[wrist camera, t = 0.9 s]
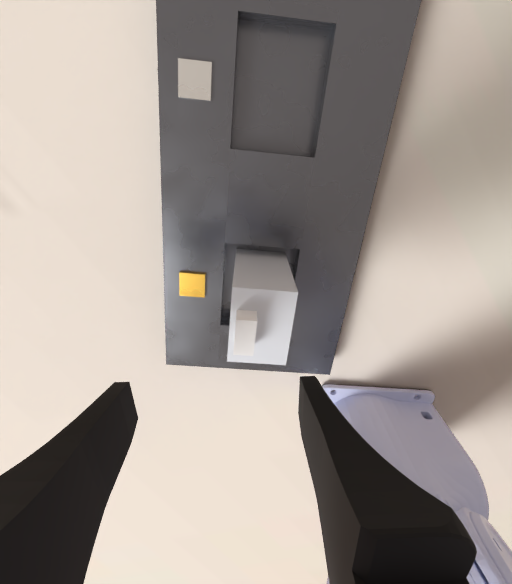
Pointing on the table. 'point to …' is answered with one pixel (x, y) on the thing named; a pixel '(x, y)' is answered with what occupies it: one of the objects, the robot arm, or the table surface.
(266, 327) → the plug
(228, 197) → the panel
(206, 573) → the table surface
